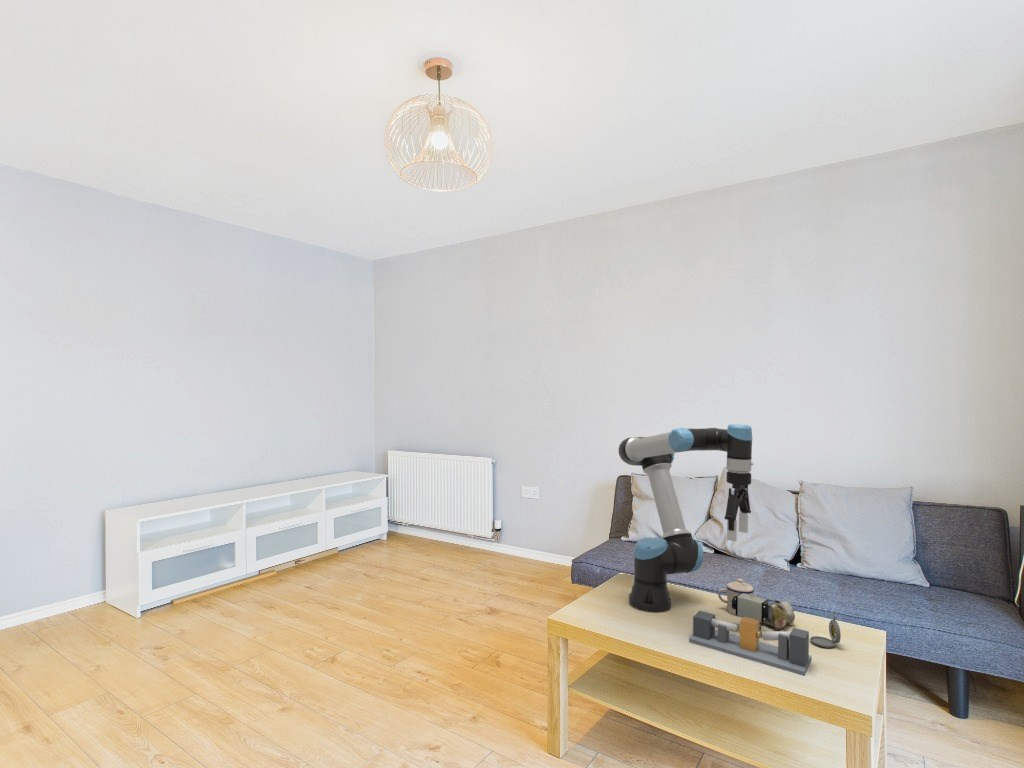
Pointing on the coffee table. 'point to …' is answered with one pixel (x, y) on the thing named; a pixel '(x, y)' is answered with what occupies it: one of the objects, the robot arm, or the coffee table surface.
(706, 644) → the shaft rig
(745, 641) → the universal joint coupler
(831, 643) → the pocket watch
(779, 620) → the ceramic sculpture
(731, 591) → the teacup with lid
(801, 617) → the coffee table surface
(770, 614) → the pneumatic valve
